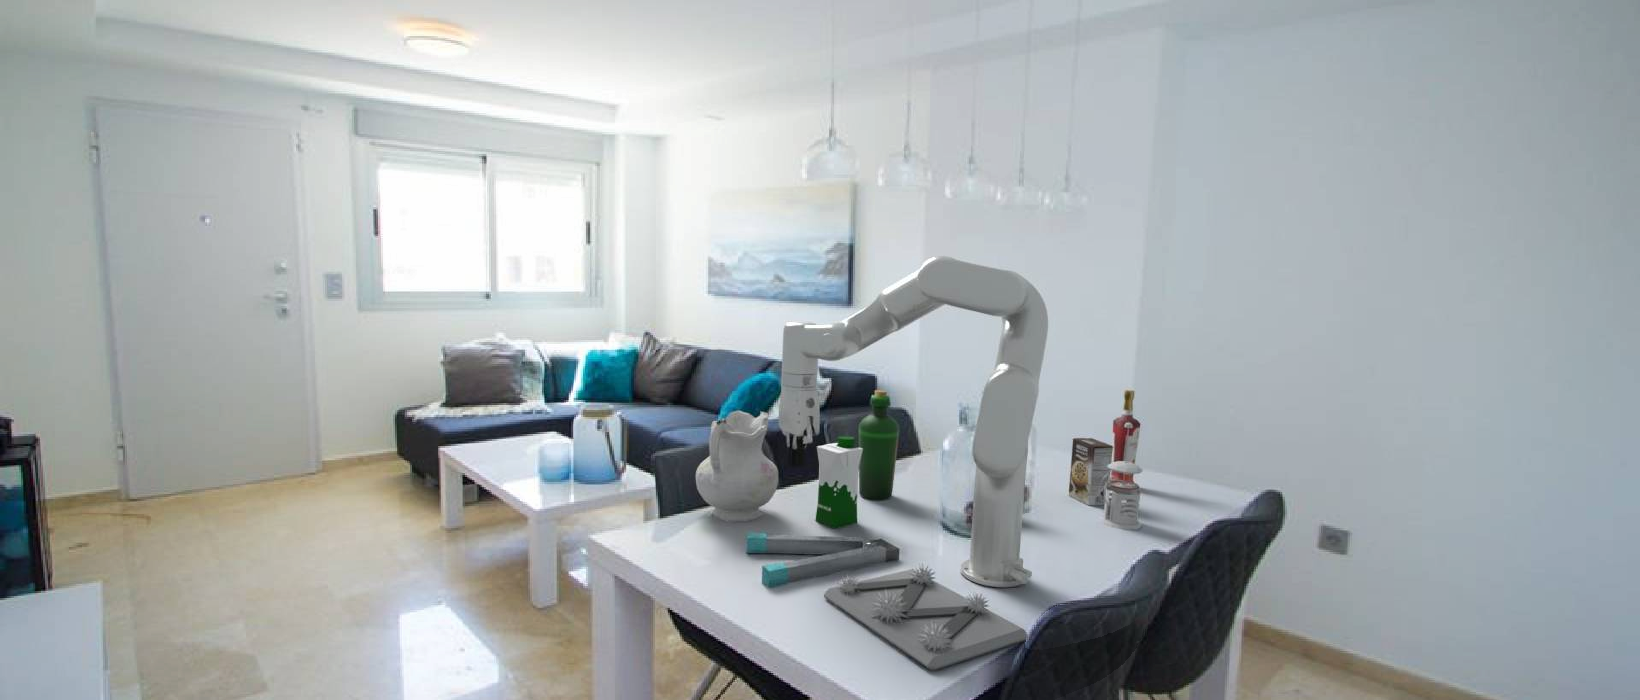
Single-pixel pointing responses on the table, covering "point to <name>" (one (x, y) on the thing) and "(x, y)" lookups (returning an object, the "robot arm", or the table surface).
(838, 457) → the milk carton
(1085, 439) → the cookie box
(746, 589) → the table surface
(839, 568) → the base
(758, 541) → the tongs arm
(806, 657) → the table surface
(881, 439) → the bottle
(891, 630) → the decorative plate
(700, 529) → the table surface
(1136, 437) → the liquor
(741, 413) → the ceramic pitcher
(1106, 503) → the french press
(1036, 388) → the robot arm
